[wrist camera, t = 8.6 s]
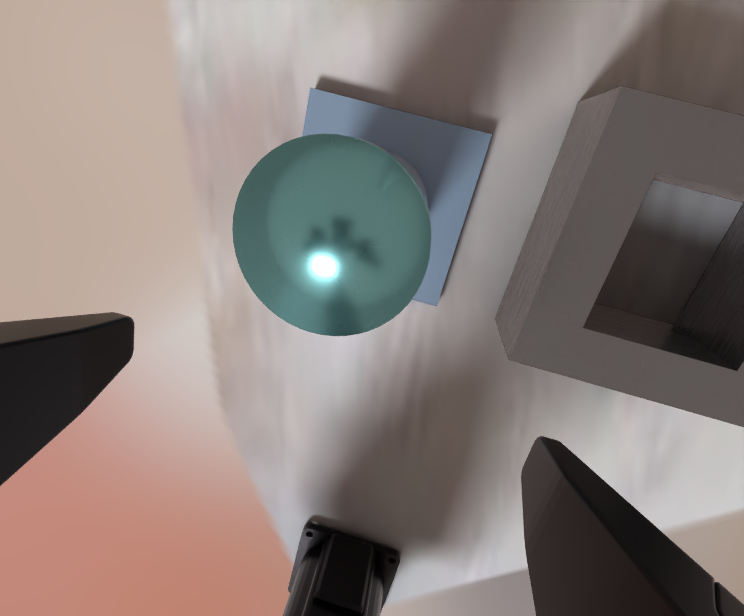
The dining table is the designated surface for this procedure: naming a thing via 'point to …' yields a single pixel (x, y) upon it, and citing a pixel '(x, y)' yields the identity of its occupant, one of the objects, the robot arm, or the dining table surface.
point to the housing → (602, 243)
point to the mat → (428, 156)
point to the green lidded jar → (333, 233)
